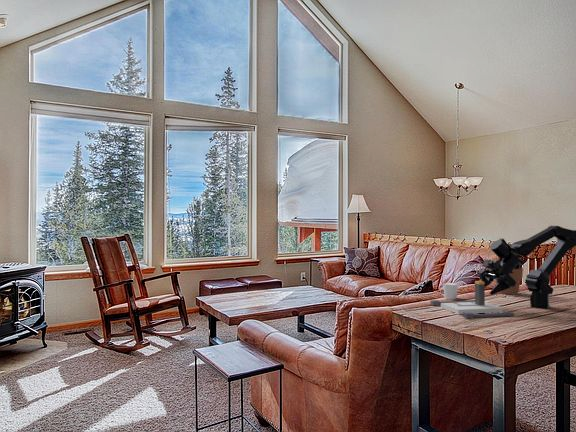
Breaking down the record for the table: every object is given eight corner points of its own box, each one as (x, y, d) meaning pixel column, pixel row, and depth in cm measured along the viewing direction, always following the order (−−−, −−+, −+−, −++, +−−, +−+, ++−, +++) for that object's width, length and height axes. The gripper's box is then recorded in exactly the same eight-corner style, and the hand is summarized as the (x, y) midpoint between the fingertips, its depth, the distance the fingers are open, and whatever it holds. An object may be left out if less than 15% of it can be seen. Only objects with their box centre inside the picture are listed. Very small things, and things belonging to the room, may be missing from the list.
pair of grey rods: (473, 302, 202) (473, 298, 202) (515, 316, 174) (515, 311, 174) (430, 304, 198) (430, 300, 198) (466, 318, 170) (466, 313, 170)
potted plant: (490, 290, 235) (489, 243, 235) (517, 291, 233) (516, 243, 233) (498, 295, 221) (498, 245, 221) (527, 295, 219) (527, 245, 219)
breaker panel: (482, 305, 195) (482, 301, 195) (503, 312, 181) (503, 307, 181) (440, 307, 191) (440, 302, 191) (458, 314, 178) (458, 309, 178)
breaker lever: (480, 303, 189) (480, 280, 189) (484, 304, 186) (484, 281, 186) (475, 303, 188) (474, 281, 188) (479, 304, 185) (479, 282, 185)
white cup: (459, 299, 210) (459, 285, 210) (444, 299, 211) (444, 284, 211) (456, 297, 217) (456, 282, 217) (442, 296, 218) (442, 282, 218)
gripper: (481, 251, 197) (459, 276, 196) (508, 254, 179) (484, 282, 177) (497, 268, 199) (475, 293, 197) (526, 273, 180) (502, 301, 178)
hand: (483, 292), depth 187 cm, fingers open, 9 cm apart
